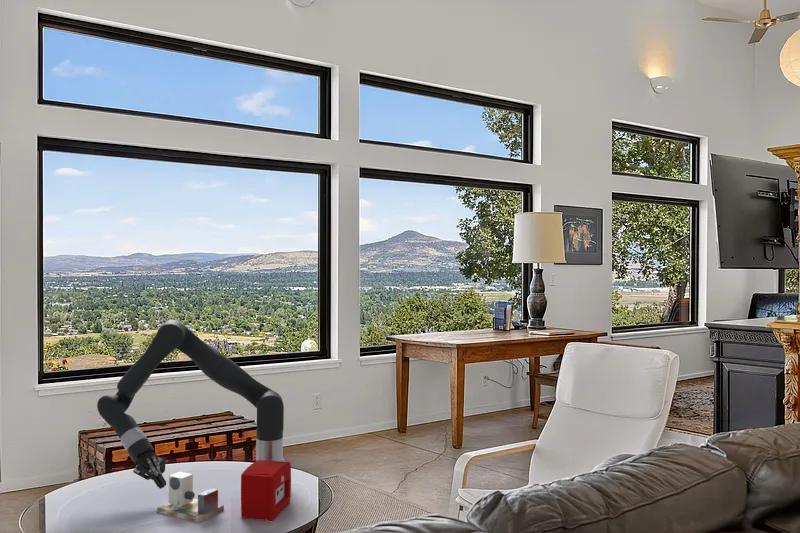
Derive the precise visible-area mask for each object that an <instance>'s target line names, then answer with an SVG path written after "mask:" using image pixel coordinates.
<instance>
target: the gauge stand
mask: <svg viewBox="0 0 800 533" xmlns="http://www.w3.org/2000/svg"><path fill="white" fill-rule="evenodd" d="M172 505H174V504H169V502H167V503H164V504H162V505H160V506H158V507H156V508H157V509H156V512H157V511H158V512H157V513H159V512H163V513H166V514H165V515H167V514H168V516H171V517H174V518H175V517H176V518H179V519H183V520H186V519H187V521H192V522H194V523H199V522H201V521H205V519H207V518H209V517H212V516H214V515H216V514H218V513H221V512H223V511H224V510H225V505H223V504H220V503H218V508H217V509H215V510H213V511H211V512H209V513H206V514H201V513H198V498H195V497H194V498H193V502H191V503H188V504H186V505H184V506H182V508H181V509H179V510H174V509H172ZM163 513H162V514H163Z"/></svg>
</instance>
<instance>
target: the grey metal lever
mask: <svg viewBox="0 0 800 533" xmlns="http://www.w3.org/2000/svg"><path fill="white" fill-rule="evenodd" d="M181 508H182V504H180V494H177V505H175V510H179V509H181Z"/></svg>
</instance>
